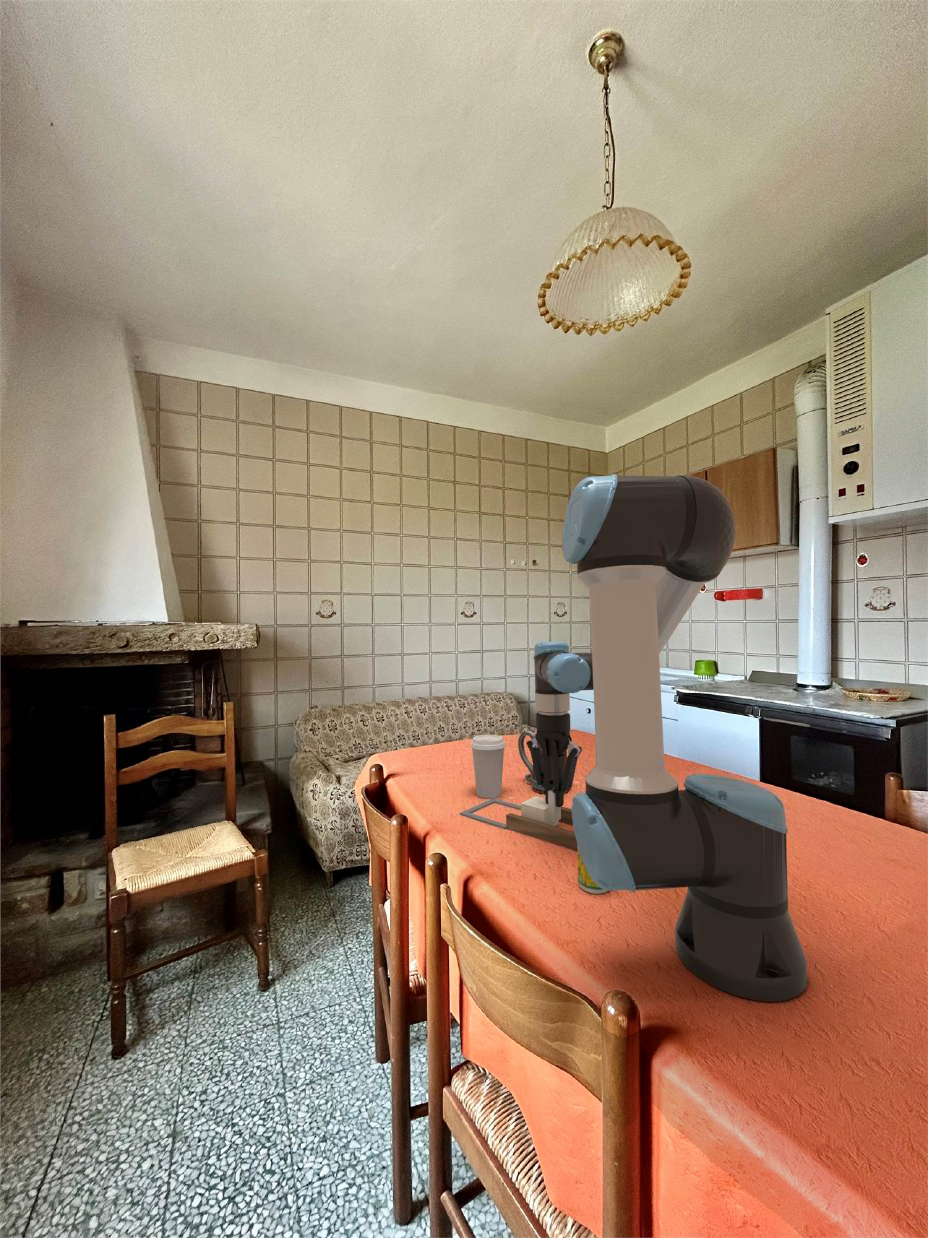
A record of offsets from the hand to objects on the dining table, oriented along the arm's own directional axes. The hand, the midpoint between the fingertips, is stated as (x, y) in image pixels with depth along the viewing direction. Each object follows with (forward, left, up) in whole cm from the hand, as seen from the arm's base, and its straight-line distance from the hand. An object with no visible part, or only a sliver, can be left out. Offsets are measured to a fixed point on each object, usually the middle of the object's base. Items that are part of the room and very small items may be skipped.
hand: (554, 820), depth 108 cm
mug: (+23, +18, -2) cm, 29 cm away
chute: (0, -2, -2) cm, 3 cm away
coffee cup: (+9, +26, -2) cm, 27 cm away
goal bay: (0, +15, -2) cm, 15 cm away
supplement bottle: (-16, -17, -2) cm, 24 cm away
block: (0, +4, -2) cm, 4 cm away
